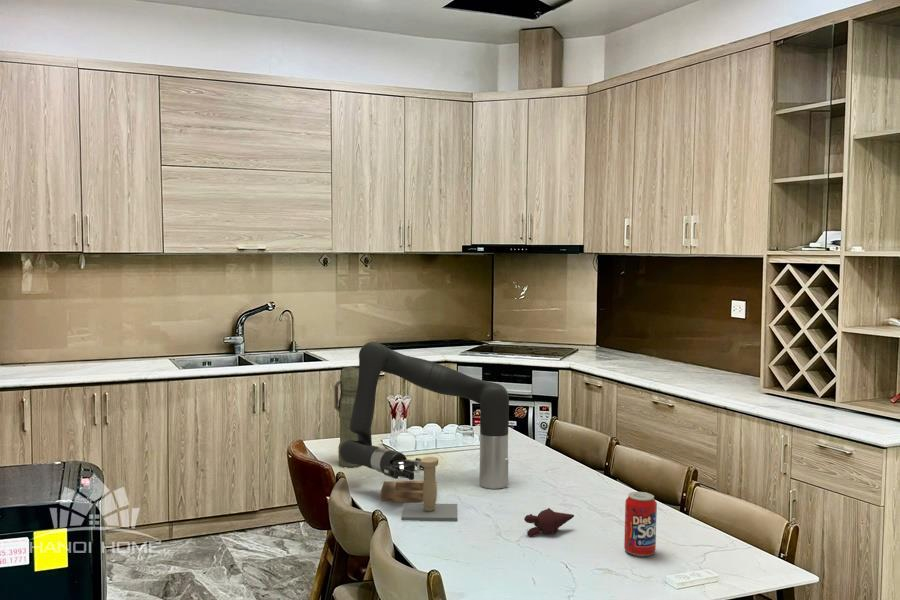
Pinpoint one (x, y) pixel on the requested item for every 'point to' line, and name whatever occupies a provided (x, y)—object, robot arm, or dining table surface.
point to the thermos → (346, 407)
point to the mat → (439, 514)
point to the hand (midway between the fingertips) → (424, 473)
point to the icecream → (547, 521)
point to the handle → (429, 482)
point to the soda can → (640, 524)
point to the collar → (403, 491)
